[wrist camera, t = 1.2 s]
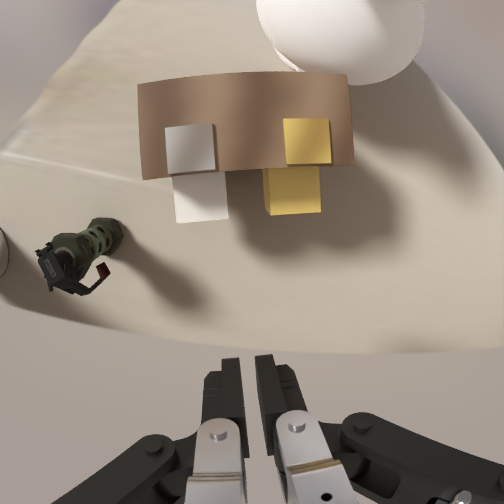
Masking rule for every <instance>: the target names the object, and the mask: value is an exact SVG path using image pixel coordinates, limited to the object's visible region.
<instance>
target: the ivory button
mask: <svg viewBox="0 0 504 504" xmlns="http://www.w3.org/2000/svg"><path fill="white" fill-rule="evenodd" d="M172 180H173V191H174V202H175V211H176V221H177V223H188V222H198V221H209V220H220V219H228V205H227V192H226V179H225V171H223V172H212V173H201V174H191V175H182V176H173V177H172Z"/></svg>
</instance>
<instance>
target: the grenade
mask: <svg viewBox="0 0 504 504" xmlns="http://www.w3.org/2000/svg"><path fill="white" fill-rule="evenodd" d="M122 238H123V234H122V231H121V229H120V227H119V225H118V223H117V222H116V220H115V219H112V218H95V219H93V220H92V221H91V223H90V224H89V226H88V228H87V229H86V230H84V231H82V232H80V233H78V234H76V233H61V234H58V235H56V236H54V238H53V240H52V241H51V242H48V243H47V244H45V245H47V247H45V248H44V249H42V250H39V249H38V250H36V251H35V252H37V254H36V255H37V256H38V257H39V259H38V263H39V265H40V267H41V269H42V271H43V273H44V275H45V276H44V278H46V279H47V283H48V287H49V291H50V292H51V291H53V286H54V287H57V288H59V289H61V290H64V291H66V292H68V293H70V294H74V293H77V294H78V295H80V296H83V295H88V294H90V293H91V292H92V291H93V290H94V289H95V288H96V287H97V286H98V285H100V284H101V283H102V282H103V281H104V280H105V279H106V278H107V277H108V276H109V275H110V271H109V269H108V267H107V266H106V264H105V262H103V263H101V264H99V265H97V266H96V268H97V271H98V273H99V275H100V279H99V280H98V281H97V282H96V283H95V284H94V285H92V286H91V287H90V288H88V287H86V286H85V285H83V284H81V283H80V282H79V281H80V280H81V279H82V278H83V277H84V276H85V274H86V273H87V271H88V269H89V267H90V266H91V263H92V261H94V260H95V259H96V258H98V257H99V256H100V255H111V254H113V253H114V252H115V250H116V249H117V247H118V246H119V244H120V242H121V240H122Z"/></svg>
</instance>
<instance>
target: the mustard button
mask: <svg viewBox="0 0 504 504" xmlns="http://www.w3.org/2000/svg"><path fill="white" fill-rule="evenodd" d="M262 173H263V189H264V204H265V210H266V211H267V212H268V213H269V214H270V215H284V214H298V213H314V212H321V198H320V175H319V166H310V167H284V168H265V169H262Z"/></svg>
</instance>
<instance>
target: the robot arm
mask: <svg viewBox="0 0 504 504" xmlns="http://www.w3.org/2000/svg"><path fill="white" fill-rule="evenodd" d="M7 264H8V247H7V243H6V240H5V237H4V235H3V233H2V231H1V229H0V276H1V275H2V274H3V273H4V272H5V270H6V267H7ZM255 367H256V379H257V391H258V399H259V405H260V411H261V417H262V423H263V430H264V436H265V442H266V448H267V454H268V456H271V455H274V459H275V464H276V466H277V471H278V476H279V480H280V484H281V489H282V493H283V497H284V502H285V504H359V502H358V500H357V498H356V495H355V493H354V491H356V492H358V493H360V494H362V495H363V496H365V497H367V498H369V499H371V500H373V501H375V502H376V503H378V504H504V465H502V464H498V463H495V462H492V461H489V460H486V459H483V458H480V457H477V456H474V455H471V454H469V453H466V452H463V451H460V450H457V449H455V448H452V447H450V446H447V445H444V444H441V443H439V442H437V441H434V440H431V439H429V438H427V437H424V436H422V435H419V434H416V433H414V432H412V431H410V430H407V429H405V428H403V427H400V426H398V425H396V424H393V423H391V422H389V421H386V420H384V419H382V418H380V417H378V416H375V415H373V414H370V413H365V412H359V413H354V414H351V415H349V416H348V417H347V418H345V419H344V421H343V423H342V424H330V423H322V422H319V421H318V420H317V419H316V417H315V416H314V415H313V414H311V413H309V412H308V411H307V408H306V405H305V402H304V399H303V397H302V393H301V390H300V388H299V384H298V381H297V379H296V376H295V373H294V371H293V370H292V369H291V368H290V367H289V366H288V365H287V364H285V365H277V366H275V362H274V358H273V355H272V354H269V355H260V356H255ZM244 458H249V446H248V437H247V428H246V417H245V407H244V397H243V388H242V379H241V370H240V361H239V358H227V359H222V371H212V372H210V373H209V374H208V375H207V376H206V378H205V379H204V390H203V404H202V420H201V426H200V427H199V429H198V430H197V431H196V432H195V433H194V434H193V435H191V436H189V437H187V438H184V439H180V440H176V441H172V440H171V439H170V438H168V437H166V436H164V435H158V434H153V435H148V436H145V437H143V438H141V439H140V440H139V441H138V442H136V443H135V444H133V445H132V446H131V447H130V448H128V449H127V450H126V451H124V452H123V453H122V454H120V455H119V456H118V457H116V458H115V459H114V460H112V461H111V462H110V463H108V464H107V465H106V466H104V467H103V468H102V469H100V470H99V471H97V472H96V473H95V474H93V475H92V476H91V477H89V478H88V479H87V480H85V481H83V482H82V483H81V484H79V485H78V486H77V487H75V488H73V489H72V490H71V491H69V492H68V493H66V494H65V495H63V496H62V497H60V498H59V499H57V500H56V501H54V502H53V503H52V504H184V503H185V504H248V497H247V482H246V471H245V463H244ZM353 490H354V491H353Z"/></svg>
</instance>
